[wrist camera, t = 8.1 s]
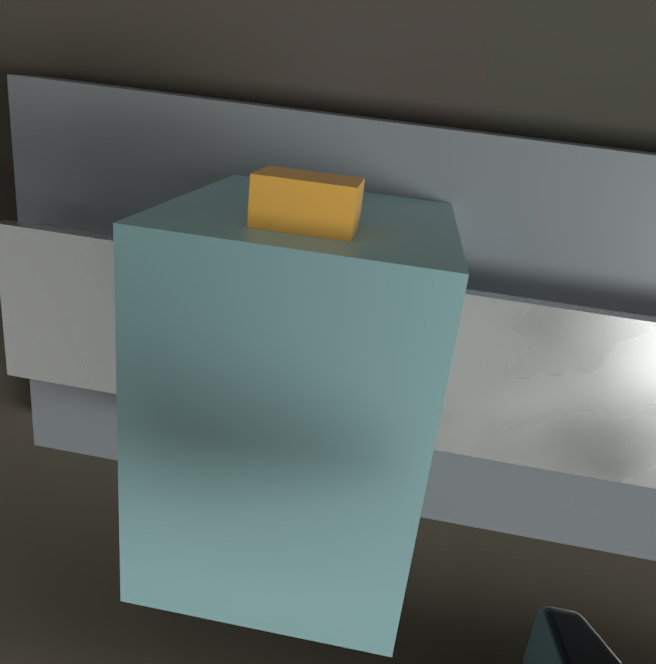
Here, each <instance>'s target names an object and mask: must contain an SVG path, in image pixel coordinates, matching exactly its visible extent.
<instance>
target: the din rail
mask: <svg viewBox="0 0 656 664" xmlns="http://www.w3.org/2000/svg"><path fill="white" fill-rule="evenodd" d="M0 298H1V309H2V320H3V331H4V343H5V354H6V365H7V375H11V376H17V377H22V378H28V379H34V380H39V381H45V382H51V383H56V384H62V385H68V386H73V387H79V388H85V389H91V390H96V391H102V392H108V393H113V394H116V345H115V295H114V244H113V234H108V233H101V232H94V231H88V230H81V229H74V228H68V227H61V226H54V225H47V224H41V223H34V224H31V223H24V222H17V221H10V220H2V221H0ZM434 450H438V451H443V452H449V453H455V454H460V455H466V456H472V457H478V458H483V459H489V460H495V461H500V462H506V463H512V464H517V465H523V466H529V467H534V468H540V469H546V470H551V471H557V472H563V473H569V474H574V475H580V476H586V477H591V478H597V479H603V480H608V481H614V482H620V483H625V484H631V485H637V486H643V487H648V488H654V489H656V315H650V314H643V313H636V312H630V311H623V310H616V309H610V308H603V307H596V306H589V305H583V304H576V303H569V302H563V301H556V300H549V299H543V298H536V297H529V296H523V295H516V294H509V293H502V292H496V291H489V290H482V289H476V288H469V287H466V292H465V297H464V302H463V307H462V312H461V317H460V322H459V327H458V332H457V337H456V342H455V347H454V352H453V356H452V361H451V366H450V371H449V376H448V381H447V386H446V391H445V396H444V401H443V406H442V411H441V416H440V421H439V426H438V431H437V436H436V441H435V446H434Z"/></svg>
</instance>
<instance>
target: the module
mask: <svg viewBox="0 0 656 664" xmlns="http://www.w3.org/2000/svg"><path fill="white" fill-rule="evenodd" d="M364 183H365V178H361V177H353V176H346V175H338V174H330V173H323V172H315V171H308V170H300V169H292V168H285V167H277V166H270V165H269V166H267V167H265V168H262V169H260V170H258V171H255V172H253V173H251V174H250V176H242V175H232V176H230V177H227V178H225V179H222V180H220V181H217V182H215V183H212V184H210V185H207V186H205V187H202V188H200V189H197V190H195V191H192V192H190V193H187V194H185V195H182V196H180V197H177V198H175V199H172V200H170V201H167V202H164V203H162V204H159V205H157V206H154V207H152V208H149V209H147V210H144V211H142V212H139V213H137V214H134V215H132V216H129V217H127V218H124V219H122V220H119V221H117V222H114V223H113V244H114V295H115V345H116V395H117V446H118V496H119V546H120V596H121V601H123V602H127V603H132V604H137V605H142V606H147V607H151V608H156V609H161V610H166V611H171V612H176V613H180V614H185V615H190V616H195V617H200V618H205V619H209V620H214V621H219V622H224V623H229V624H233V625H238V626H243V627H248V628H253V629H258V630H262V631H267V632H272V633H277V634H282V635H286V636H291V637H296V638H301V639H306V640H311V641H315V642H320V643H325V644H330V645H335V646H340V647H344V648H349V649H354V650H359V651H364V652H368V653H373V654H378V655H383V656H388V657H392V655H393V650H394V645H395V640H396V635H397V630H398V625H399V620H400V615H401V610H402V605H403V600H404V595H405V590H406V585H407V580H408V575H409V570H410V565H411V560H412V555H413V550H414V545H415V540H416V535H417V530H418V525H419V520H420V515H421V510H422V506H423V501H424V496H425V491H426V486H427V481H428V476H429V471H430V466H431V461H432V456H433V451H434V446H435V441H436V436H437V431H438V426H439V421H440V416H441V411H442V406H443V401H444V396H445V391H446V386H447V381H448V376H449V371H450V366H451V361H452V356H453V352H454V347H455V342H456V337H457V332H458V327H459V322H460V317H461V312H462V307H463V302H464V297H465V292H466V287H467V282H468V277H469V272H468V268H467V264H466V260H465V256H464V252H463V248H462V244H461V240H460V236H459V232H458V228H457V224H456V220H455V215H454V211H453V207H452V204H451V203H444V202H437V201H429V200H422V199H414V198H407V197H399V196H392V195H384V194H377V193H369V192H363V191H364Z"/></svg>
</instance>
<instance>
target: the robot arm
mask: <svg viewBox="0 0 656 664" xmlns="http://www.w3.org/2000/svg"><path fill="white" fill-rule="evenodd" d="M522 664H622V662H621V661H620V660H619V659H618V658H617V656H616V655H615V654H614V653H613V652H612V650H611V649H610V648H609V647H608V646H607V645H606V643H605V642H604V641H603V640H602V639H601V637H600V636H599V635H598V634H597V633H596V632H595V630H594V629H593V628H592V627H591V626H590V624H589V623H588V622H587V621H586V620H585V618H584V617H583V616H582V615H580V614H579V613H578V612H575V611H573V610H567V609H562V608H557V607H552V606H543V607H541V608H540V610H539V611H538V613H537V615H536V618H535V621H534V624H533V628H532V631H531V634H530V637H529V640H528V644H527V647H526V650H525V653H524V657H523V662H522Z"/></svg>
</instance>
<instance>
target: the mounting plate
mask: <svg viewBox="0 0 656 664" xmlns="http://www.w3.org/2000/svg"><path fill="white" fill-rule="evenodd" d="M7 83H8V96H9V110H10V123H11V137H12V150H13V163H14V177H15V190H16V204H17V217H18V222H24V223H31V224H34V223H41V224H47V225H54V226H61V227H68V228H74V229H81V230H88V231H94V232H101V233H108V234H113V223H114V222H117V221H119V220H122V219H124V218H127V217H129V216H132V215H134V214H137V213H139V212H142V211H144V210H147V209H149V208H152V207H154V206H157V205H159V204H162V203H164V202H167V201H170V200H172V199H175V198H177V197H180V196H182V195H185V194H187V193H190V192H192V191H195V190H197V189H200V188H202V187H205V186H207V185H210V184H212V183H215V182H217V181H220V180H222V179H225V178H227V177H230V176H232V175H242V176H250V174H251V173H253V172H255V171H258V170H260V169H262V168H265V167H267V166H269V165H270V166H277V167H285V168H292V169H300V170H308V171H315V172H323V173H330V174H338V175H346V176H353V177H361V178H365V183H364V191H363V192H369V193H377V194H384V195H392V196H399V197H407V198H414V199H422V200H429V201H437V202H444V203H451V204H452V207H453V211H454V215H455V220H456V224H457V228H458V232H459V236H460V240H461V244H462V248H463V252H464V256H465V260H466V264H467V268H468V272H469V277H468V282H467V287H469V288H476V289H482V290H489V291H496V292H502V293H509V294H516V295H523V296H529V297H536V298H543V299H549V300H556V301H563V302H569V303H576V304H583V305H589V306H596V307H603V308H610V309H616V310H623V311H630V312H636V313H643V314H650V315H656V153H654V152H646V151H638V150H630V149H622V148H614V147H606V146H598V145H590V144H582V143H574V142H566V141H558V140H550V139H542V138H534V137H526V136H518V135H510V134H502V133H494V132H486V131H478V130H470V129H462V128H454V127H446V126H438V125H430V124H422V123H414V122H406V121H398V120H390V119H382V118H374V117H366V116H358V115H350V114H342V113H334V112H326V111H318V110H310V109H302V108H293V107H285V106H277V105H269V104H261V103H253V102H245V101H237V100H229V99H221V98H213V97H205V96H197V95H189V94H181V93H173V92H165V91H157V90H149V89H141V88H133V87H125V86H117V85H109V84H101V83H93V82H85V81H77V80H69V79H61V78H53V77H45V76H29V75H12V74H7ZM30 391H31V405H32V418H33V432H34V445H37V446H43V447H48V448H53V449H59V450H64V451H69V452H75V453H80V454H86V455H91V456H96V457H102V458H107V459H112V460H118V446H117V395H116V394H113V393H108V392H102V391H96V390H91V389H85V388H79V387H73V386H68V385H62V384H56V383H51V382H45V381H39V380H34V379H30ZM420 517H423V518H428V519H434V520H439V521H444V522H450V523H455V524H460V525H466V526H471V527H477V528H482V529H487V530H493V531H498V532H503V533H509V534H514V535H519V536H525V537H530V538H535V539H541V540H546V541H552V542H557V543H562V544H568V545H573V546H578V547H584V548H589V549H594V550H600V551H605V552H610V553H616V554H621V555H627V556H632V557H637V558H643V559H648V560H653V561H656V489H654V488H648V487H643V486H637V485H631V484H625V483H620V482H614V481H608V480H603V479H597V478H591V477H586V476H580V475H574V474H569V473H563V472H557V471H551V470H546V469H540V468H534V467H529V466H523V465H517V464H512V463H506V462H500V461H495V460H489V459H483V458H478V457H472V456H466V455H460V454H455V453H449V452H443V451H438V450H434V451H433V456H432V461H431V466H430V471H429V476H428V481H427V486H426V491H425V496H424V501H423V506H422V510H421V515H420Z"/></svg>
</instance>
